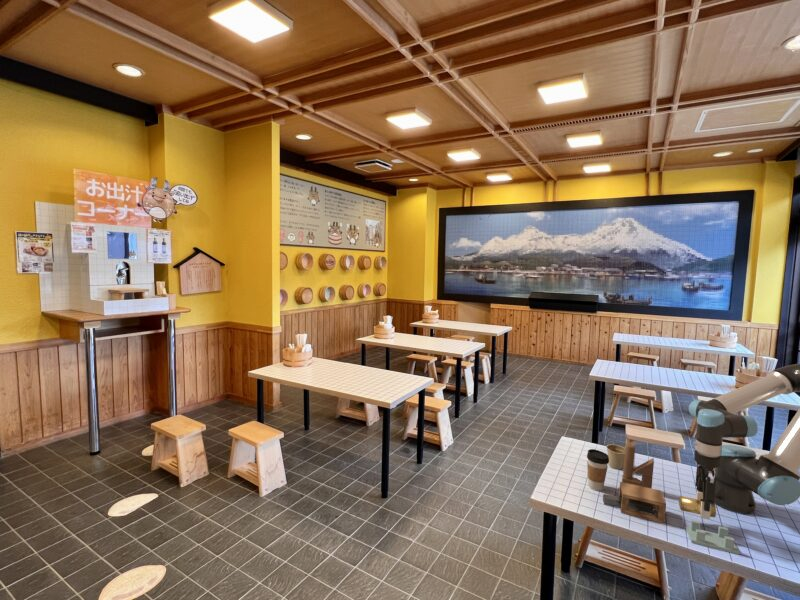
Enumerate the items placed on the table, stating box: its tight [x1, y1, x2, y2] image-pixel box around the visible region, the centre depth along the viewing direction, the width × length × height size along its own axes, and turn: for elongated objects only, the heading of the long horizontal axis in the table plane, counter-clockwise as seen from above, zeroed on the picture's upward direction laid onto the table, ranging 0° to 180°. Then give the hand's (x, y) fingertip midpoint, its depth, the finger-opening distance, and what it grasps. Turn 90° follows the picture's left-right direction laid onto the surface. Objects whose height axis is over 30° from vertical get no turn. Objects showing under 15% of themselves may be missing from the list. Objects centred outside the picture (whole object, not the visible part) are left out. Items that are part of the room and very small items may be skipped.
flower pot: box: [605, 444, 625, 470], centre depth 188 cm, size 9×9×9 cm
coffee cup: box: [586, 448, 609, 492], centre depth 169 cm, size 8×8×15 cm
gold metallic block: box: [678, 495, 717, 518], centre depth 147 cm, size 10×5×5 cm, turn 67°
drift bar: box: [602, 493, 655, 515], centre depth 156 cm, size 17×3×3 cm, turn 72°
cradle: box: [685, 519, 740, 555], centre depth 138 cm, size 13×8×4 cm, turn 67°
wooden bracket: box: [621, 443, 655, 489], centre depth 169 cm, size 4×11×18 cm, turn 60°
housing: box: [618, 481, 667, 524], centre depth 154 cm, size 14×9×8 cm
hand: (702, 513), depth 146 cm, fingers closed on gold metallic block, 5 cm apart
